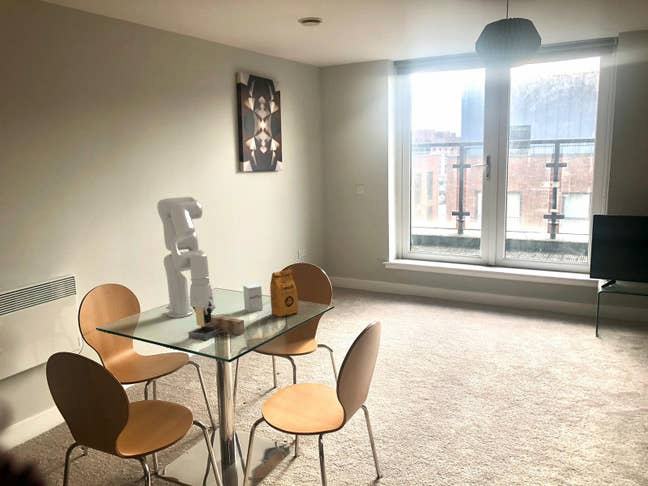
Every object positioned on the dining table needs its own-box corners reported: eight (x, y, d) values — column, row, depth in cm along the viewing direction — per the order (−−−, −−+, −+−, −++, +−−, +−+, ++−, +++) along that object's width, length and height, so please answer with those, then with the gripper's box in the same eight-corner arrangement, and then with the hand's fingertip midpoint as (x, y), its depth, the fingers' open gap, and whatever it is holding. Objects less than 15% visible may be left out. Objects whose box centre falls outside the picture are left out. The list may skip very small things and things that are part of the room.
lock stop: (196, 325, 233) (195, 305, 231) (204, 322, 236) (202, 302, 235) (204, 326, 230) (202, 306, 229) (211, 323, 234) (209, 303, 233)
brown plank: (201, 327, 246) (200, 315, 245) (205, 325, 248) (204, 313, 247) (240, 335, 233) (239, 322, 232) (244, 333, 236) (243, 320, 235)
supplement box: (249, 312, 267) (247, 288, 265) (244, 309, 273) (242, 285, 271) (263, 310, 270) (261, 286, 268) (258, 306, 277) (256, 283, 274)
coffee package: (301, 314, 260) (298, 270, 256) (278, 319, 254) (275, 274, 250) (291, 309, 268) (289, 267, 265) (269, 314, 262) (266, 271, 258)
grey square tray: (188, 337, 233) (188, 332, 232) (205, 330, 241) (204, 325, 241) (205, 341, 227) (204, 335, 227) (221, 333, 236) (220, 328, 235)
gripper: (180, 281, 232) (184, 321, 234) (208, 284, 223) (212, 326, 225) (192, 278, 238) (196, 317, 241) (220, 281, 229) (224, 321, 232)
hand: (204, 321), depth 233 cm, fingers closed on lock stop, 4 cm apart
